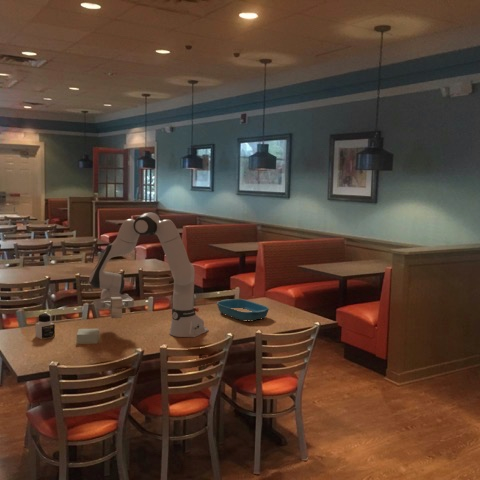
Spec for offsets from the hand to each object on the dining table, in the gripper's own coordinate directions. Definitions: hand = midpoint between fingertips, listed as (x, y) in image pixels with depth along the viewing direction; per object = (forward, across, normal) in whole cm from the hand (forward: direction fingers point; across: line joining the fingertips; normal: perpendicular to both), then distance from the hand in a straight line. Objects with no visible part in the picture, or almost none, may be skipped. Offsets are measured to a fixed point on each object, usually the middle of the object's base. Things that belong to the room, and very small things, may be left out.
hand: (116, 306), depth 275 cm
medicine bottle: (-14, -34, +18) cm, 41 cm away
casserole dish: (-26, +82, +17) cm, 88 cm away
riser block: (-2, -14, +18) cm, 23 cm away
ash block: (-1, 0, +6) cm, 6 cm away
